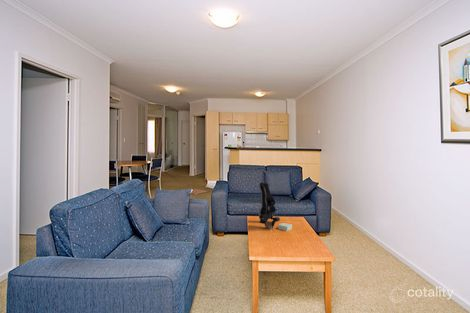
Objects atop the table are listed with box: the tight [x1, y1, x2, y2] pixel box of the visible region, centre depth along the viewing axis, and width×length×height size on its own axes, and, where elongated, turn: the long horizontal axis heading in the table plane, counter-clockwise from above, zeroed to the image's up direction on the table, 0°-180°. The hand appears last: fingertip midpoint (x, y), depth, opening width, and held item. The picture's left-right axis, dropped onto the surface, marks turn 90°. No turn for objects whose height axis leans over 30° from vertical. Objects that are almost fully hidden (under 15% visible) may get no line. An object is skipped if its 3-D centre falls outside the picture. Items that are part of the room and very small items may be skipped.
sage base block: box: [277, 222, 293, 232], centre depth 236 cm, size 9×9×4 cm
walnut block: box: [265, 220, 273, 230], centre depth 236 cm, size 4×4×6 cm
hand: (269, 227), depth 236 cm, fingers open, 7 cm apart
